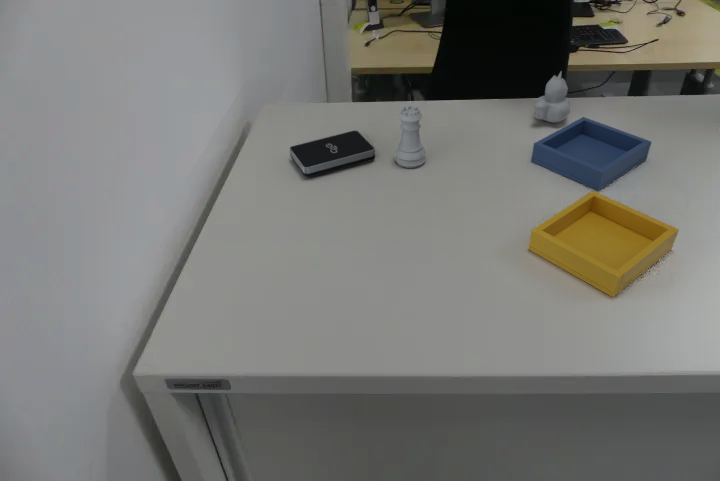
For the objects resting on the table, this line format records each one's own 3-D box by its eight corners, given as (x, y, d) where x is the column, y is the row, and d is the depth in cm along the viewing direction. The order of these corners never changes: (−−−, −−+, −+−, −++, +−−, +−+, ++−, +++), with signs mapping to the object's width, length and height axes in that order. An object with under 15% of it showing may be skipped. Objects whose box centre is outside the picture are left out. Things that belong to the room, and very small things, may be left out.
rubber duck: (577, 121, 87) (587, 71, 82) (546, 133, 85) (555, 83, 80) (550, 109, 91) (558, 61, 86) (520, 120, 89) (527, 71, 84)
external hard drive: (377, 161, 81) (376, 149, 80) (304, 181, 78) (303, 169, 76) (357, 141, 86) (356, 129, 85) (289, 159, 83) (287, 147, 81)
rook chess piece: (432, 162, 80) (434, 110, 75) (407, 172, 78) (407, 120, 73) (412, 150, 83) (413, 99, 78) (388, 160, 81) (387, 108, 76)
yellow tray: (587, 209, 69) (592, 190, 67) (671, 249, 62) (679, 229, 61) (528, 249, 64) (531, 229, 62) (613, 297, 57) (619, 277, 55)
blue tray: (579, 133, 84) (583, 116, 83) (646, 159, 78) (652, 141, 76) (530, 161, 79) (533, 143, 77) (598, 191, 72) (602, 172, 70)
